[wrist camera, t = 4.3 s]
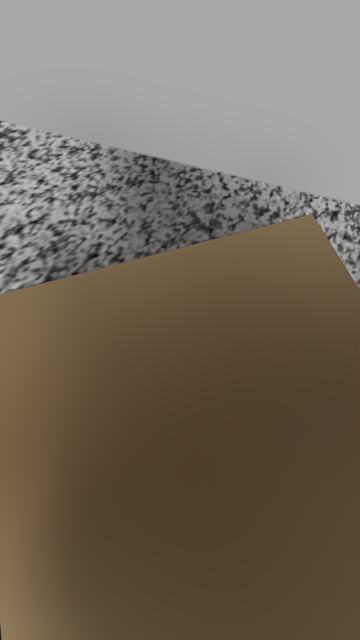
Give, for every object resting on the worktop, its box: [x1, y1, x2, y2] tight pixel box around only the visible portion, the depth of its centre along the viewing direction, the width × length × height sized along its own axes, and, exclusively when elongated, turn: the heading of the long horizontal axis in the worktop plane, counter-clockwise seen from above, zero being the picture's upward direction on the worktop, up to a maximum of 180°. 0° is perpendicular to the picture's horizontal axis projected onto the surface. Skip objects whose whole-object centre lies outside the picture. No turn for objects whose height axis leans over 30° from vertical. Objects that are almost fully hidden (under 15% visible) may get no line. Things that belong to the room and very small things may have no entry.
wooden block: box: [0, 214, 360, 640], centre depth 9 cm, size 5×5×13 cm
